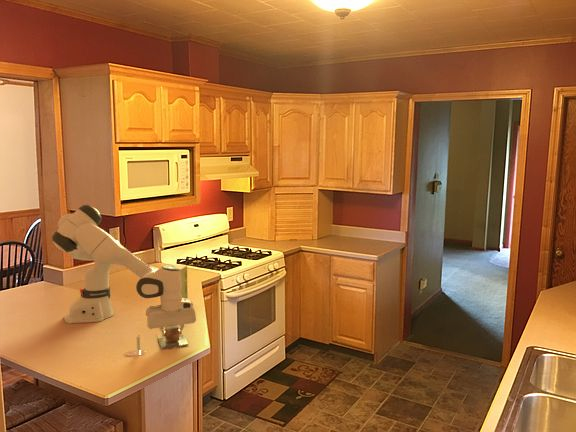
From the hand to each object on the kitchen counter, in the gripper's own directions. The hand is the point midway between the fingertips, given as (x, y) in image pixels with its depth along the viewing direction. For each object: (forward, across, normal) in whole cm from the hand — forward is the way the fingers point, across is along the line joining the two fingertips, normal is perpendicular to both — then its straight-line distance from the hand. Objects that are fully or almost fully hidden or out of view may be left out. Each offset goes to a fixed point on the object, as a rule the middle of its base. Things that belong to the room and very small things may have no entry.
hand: (172, 335), depth 210 cm
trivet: (+4, 0, 0) cm, 4 cm away
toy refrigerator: (+4, +12, +48) cm, 50 cm away
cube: (+2, 0, 0) cm, 2 cm away
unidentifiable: (+4, -16, -5) cm, 17 cm away
